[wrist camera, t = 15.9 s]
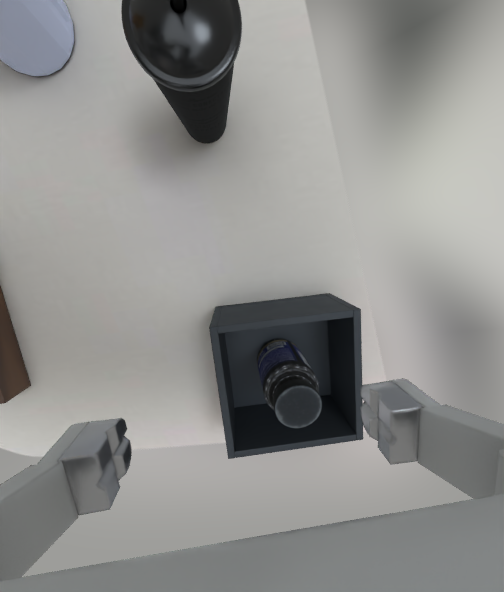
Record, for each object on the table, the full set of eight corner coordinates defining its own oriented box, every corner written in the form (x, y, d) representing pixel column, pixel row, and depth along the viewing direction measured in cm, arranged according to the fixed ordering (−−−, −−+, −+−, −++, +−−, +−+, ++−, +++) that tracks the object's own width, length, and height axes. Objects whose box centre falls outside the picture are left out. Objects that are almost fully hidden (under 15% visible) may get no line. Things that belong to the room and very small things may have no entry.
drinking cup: (220, 169, 31) (195, 38, 11) (161, 134, 30) (21, -78, 10) (249, 107, 30) (279, -155, 10) (189, 69, 29) (94, -308, 9)
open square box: (229, 409, 37) (228, 459, 29) (215, 306, 34) (209, 327, 26) (334, 395, 38) (363, 439, 29) (329, 293, 35) (360, 309, 26)
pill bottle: (250, 372, 36) (258, 427, 25) (264, 331, 34) (278, 371, 24) (292, 382, 36) (316, 441, 25) (306, 343, 35) (338, 387, 24)
